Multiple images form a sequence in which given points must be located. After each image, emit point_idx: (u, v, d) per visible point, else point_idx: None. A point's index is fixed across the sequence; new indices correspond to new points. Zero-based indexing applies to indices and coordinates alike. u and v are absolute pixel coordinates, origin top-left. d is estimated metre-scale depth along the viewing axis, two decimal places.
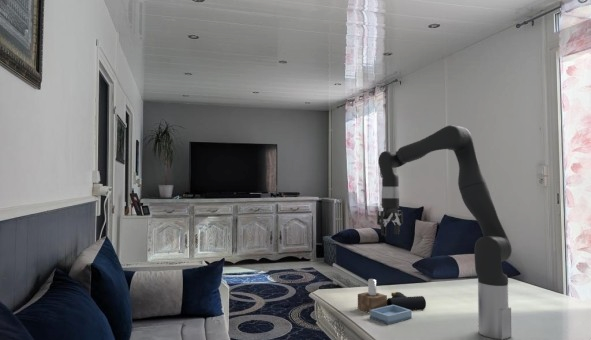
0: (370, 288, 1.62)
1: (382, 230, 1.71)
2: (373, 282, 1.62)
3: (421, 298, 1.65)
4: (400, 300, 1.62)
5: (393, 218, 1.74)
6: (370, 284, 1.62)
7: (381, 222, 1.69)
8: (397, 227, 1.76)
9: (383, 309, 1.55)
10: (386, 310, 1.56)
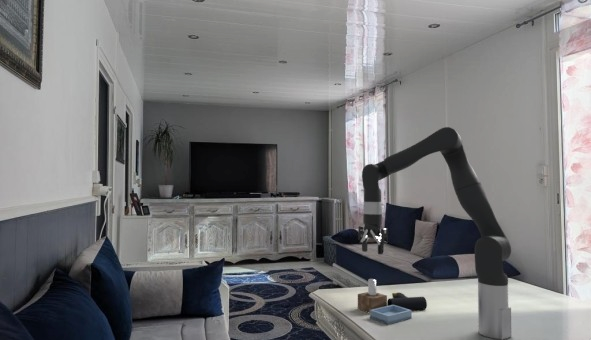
0: (370, 288, 1.62)
1: (382, 249, 1.60)
2: (373, 282, 1.62)
3: (422, 299, 1.64)
4: (401, 301, 1.61)
5: None
6: (370, 284, 1.62)
7: (387, 240, 1.59)
8: (366, 244, 1.68)
9: (383, 309, 1.55)
10: (386, 310, 1.56)
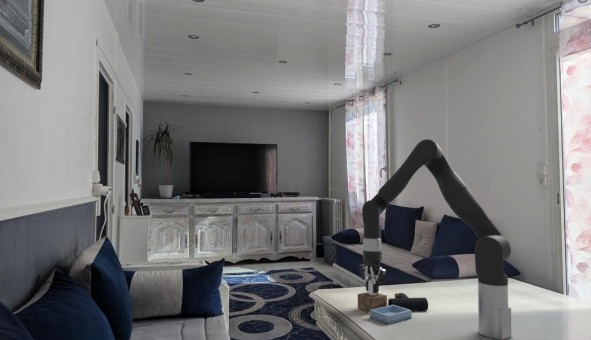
0: (370, 288, 1.62)
1: (377, 288, 1.61)
2: None
3: (423, 299, 1.63)
4: (401, 301, 1.61)
5: None
6: (370, 284, 1.62)
7: (382, 279, 1.60)
8: None
9: (383, 309, 1.55)
10: (386, 310, 1.56)
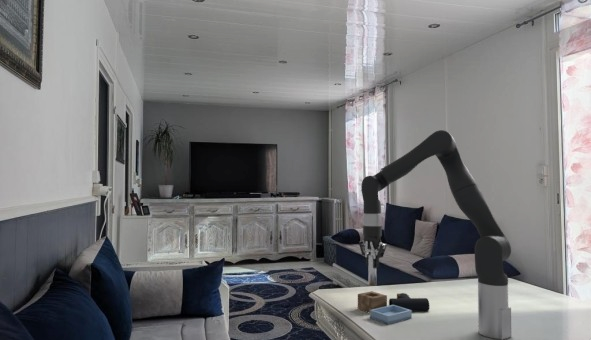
0: (370, 263, 1.62)
1: (377, 263, 1.61)
2: None
3: (425, 300, 1.62)
4: (401, 301, 1.61)
5: None
6: (370, 259, 1.62)
7: (382, 254, 1.61)
8: None
9: (383, 309, 1.55)
10: (386, 310, 1.56)
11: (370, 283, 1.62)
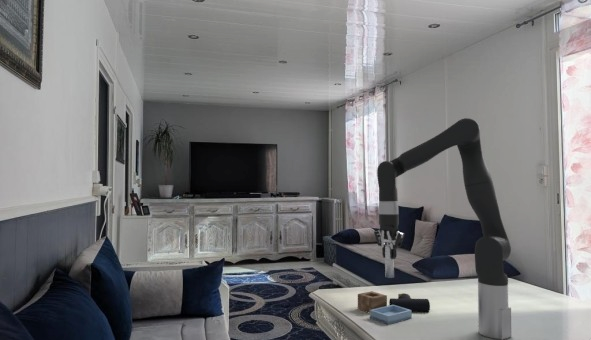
0: (387, 254, 1.53)
1: (395, 253, 1.52)
2: (390, 247, 1.53)
3: (425, 301, 1.61)
4: (401, 301, 1.61)
5: None
6: (387, 249, 1.53)
7: (400, 244, 1.52)
8: None
9: (383, 309, 1.55)
10: (386, 310, 1.56)
11: (387, 275, 1.53)
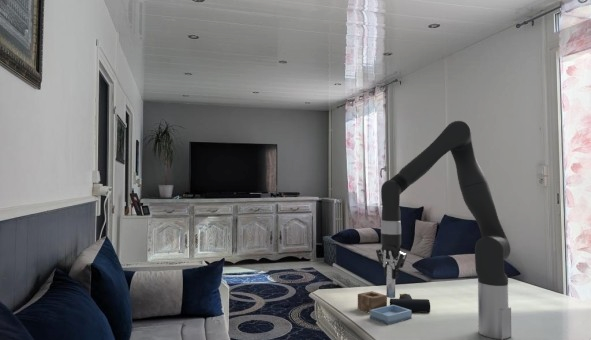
0: (389, 274, 1.52)
1: (397, 273, 1.51)
2: None
3: (426, 301, 1.60)
4: (401, 301, 1.60)
5: None
6: (389, 269, 1.52)
7: (402, 264, 1.50)
8: None
9: (383, 309, 1.55)
10: (386, 310, 1.56)
11: (388, 295, 1.51)
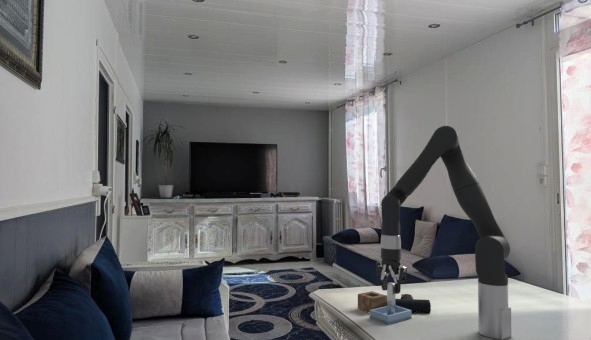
0: (389, 292, 1.51)
1: (399, 288, 1.50)
2: (393, 286, 1.51)
3: (426, 302, 1.60)
4: (401, 301, 1.60)
5: None
6: (389, 288, 1.51)
7: (404, 279, 1.49)
8: (386, 282, 1.55)
9: (383, 309, 1.55)
10: (386, 310, 1.56)
11: (389, 314, 1.51)
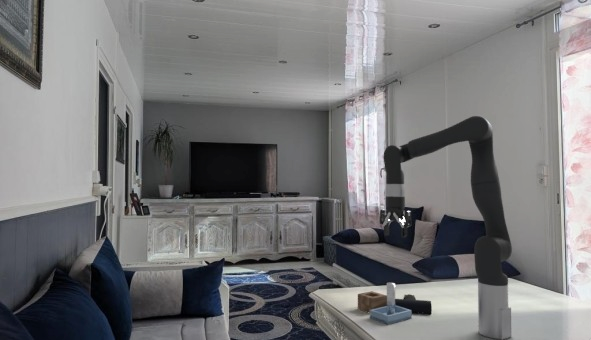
0: (389, 292, 1.51)
1: (406, 232, 1.55)
2: (392, 286, 1.51)
3: (427, 303, 1.58)
4: (402, 302, 1.60)
5: None
6: (389, 288, 1.51)
7: (411, 223, 1.55)
8: (388, 227, 1.63)
9: (383, 309, 1.55)
10: (386, 310, 1.56)
11: (389, 314, 1.51)
